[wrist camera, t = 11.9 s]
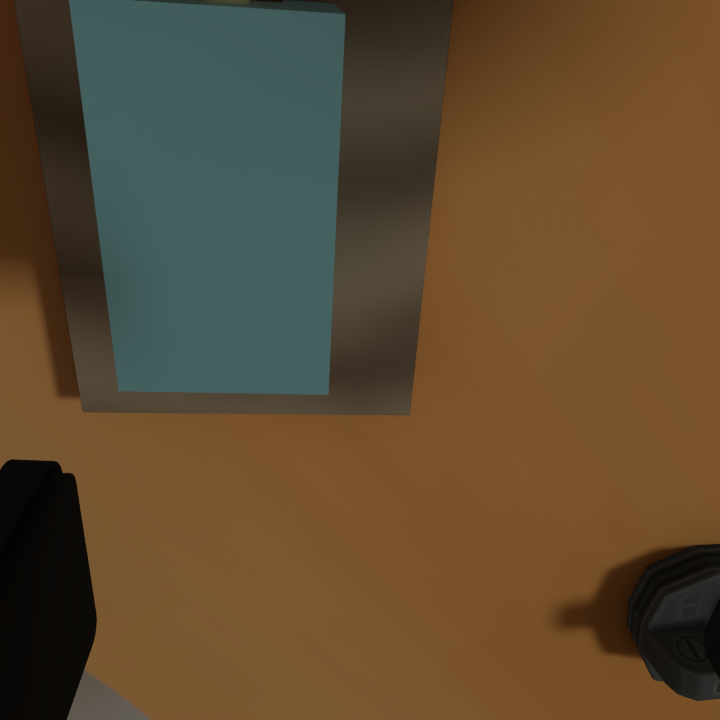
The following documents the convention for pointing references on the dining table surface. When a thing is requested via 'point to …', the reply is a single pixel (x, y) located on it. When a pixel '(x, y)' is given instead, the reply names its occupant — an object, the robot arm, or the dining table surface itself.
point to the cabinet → (215, 187)
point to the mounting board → (353, 221)
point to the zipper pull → (678, 620)
